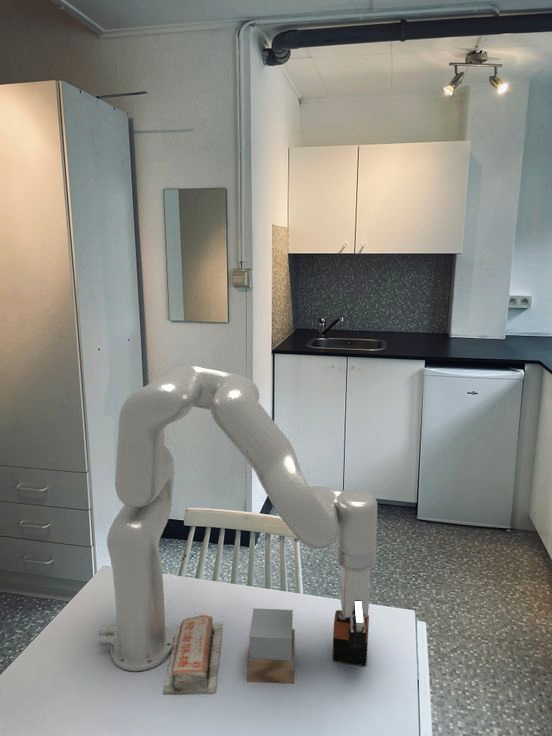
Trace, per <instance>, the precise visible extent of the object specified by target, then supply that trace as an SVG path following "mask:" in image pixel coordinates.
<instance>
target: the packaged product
mask: <svg viewBox="0 0 552 736" xmlns="http://www.w3.org/2000/svg"><path fill="white" fill-rule="evenodd" d="M222 639H223V622H213V616H212V615H211V616H210V615H207V614H201V615H197V616H194V617H187V618H186V619H183V620H182V621H181V623H180V624H177V627H176V630H175V636H174V639H173V641H174V644H173V648H172V652H171V653H170V658H169V664H168V667H167V668H168V669H167V673H166V678H165V681H164V682H165V683H164V687H163V692H162V693H163V695H188V694H189V695H190V694H191V695H193V694H194V695H195V694H196V695H197V694H198V695H200V694H201V695H202V694H206V695H207V694H215V693H216V689H217V685H218V673H219V669H220V668H219V666H220V659H221V649H222Z"/></svg>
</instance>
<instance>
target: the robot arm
mask: <svg viewBox="0 0 552 736" xmlns="http://www.w3.org/2000/svg"><path fill="white" fill-rule="evenodd" d="M259 399H260V391H259V388H258V386H257V384H255V382H254V381H253V380H251V379H250V378H248V376H244V375H241V374H237V373H233V372H228V371H223V370H218V369H217V370H216V369H210V368H208V367H203V366H197V365H192V364H191V365H190V364H176V365H173V366H171V367H169V368H168V369H166V370H165V371H164V372H163V373H161V375H160V376H158V377H157V378H156V379H155V380H154V381H153V382H150V383H149V384H146V385H145V386H142V387H141V388H138V389H137V390H136V391H134V392H133V393H131V394H130V395H129V396H128V397H127V398H126V400H125V401H124V402H123V404H122V407H121V408H120V410H119V411H120V412H119V417H118V431H117V432H118V433H117V434H118V436H117V446H116V459H115V461H116V463H115V475H114V476H115V477H114V487H115V493H116V496H117V498H118V499H119V501H120V502H121V503H122V504H123V507H122V508H121V509H120V511H118V514H117V515H116V517H114V520H113V522H112V523H111V525H110V528H109V530H108V533H107V537H106V546H107V552H108V555H109V559H110V562H111V563H110V564H111V568H112V569H111V571H112V578H113V588H114V599H115V601H114V602H115V614H116V624H115V625H114V626H113V625H112V626H111V625H100V626H99V629H98V636H101V637H100V641H99V642H100V644H111V647H110V656H111V659H112V661H113V663H114V664H115V665H116V666H117V667H119V668H120V669H122V670H126V671H130V672H139V671H147V670H149V669H152V668H155V667H157V666H158V665H160V664H162V663H163V662H165V661H166V660H167V658H169V656H171V653H172V648H173V644H174V636H173V633H172V632H171V630H170V629H169V627H166V617H165V615H166V613H165V596H164V594H165V593H164V578H163V576H164V575H163V564H162V559H161V555H160V552H159V551H160V550H159V545H160V540H161V537H162V535H163V532H164V529H165V528H166V526H167V523H168V521H169V518H170V516H171V512H172V506H173V505H172V504H173V491H174V480H175V479H174V477H175V460H174V457H173V454H172V453H171V451H170V449H169V448H168V447H167V446H166V445H165V428H166V427H168V425H170V424H172V423H175V422H178V421H179V420H181V419H183V418H185V417H186V416H187V415H188V414H190V412H191V410H192V409H193V408H198V409H203V410H208V411H210V414H211V416H212V419H213V421H214V422H215V424H216V425H217V426H218V428H219V429H220V430H221V431H222V433H223V434H224V435H225V436H226V438H227V439H228V440H229V441H230V442H231V443H232V444H233V446H234V448H236V449H237V451H238V452H239V453H240V455H242V457H243V458H244V459H245V461H246V463H248V465H249V466H250V467H251V468H252V469H253V471H254V472H255V474H256V477H257V479H258V481H259V483H260V485H261V487H262V488H263V490H264V492H265V494H266V495H267V497H268V499H269V501H270V502H271V505H272V506H273V508H274V509H275V511H276V513H277V515H279V517H280V519H281V520H282V521H283V522H284V523H285V525H286V526H287V527H288V529H290V531H291V532H292V533H293V534H294V535H295V537H296V538H297V539H298V540H299V541H300V542H301V543H302V544H304V545H305V546H307V547H308V548H312V549H318V550H319V549H325V548H328V547H329V546H331V545H332V544H333V543H334V542H335V541H336V562H337V564H338V565H339V566H340V578H339V579H340V580H339V597H340V605H341V611H342V614H343V616H344V617H345V618H346V617H350V628H349V648H365V647H366V629H365V618H366V617H367V616H368V615H369V605H370V581H371V580H370V579H371V578H370V573H371V572H370V570H371V569H373V568H374V567H375V565H376V558H377V557H376V556H377V529H378V525H377V524H378V502H377V499H376V498H375V496H374V495H373V494H372V493H371V492H368V491H366V490H364V489H350V490H341V489H335V488H330V487H327V486H321V485H320V486H317V485H314V486H310V485H309V484H308V482H307V480H306V479H305V478H306V477H304V475H303V472H302V470H301V467H300V464H299V462H298V458H297V455H296V452H295V450H294V448H293V445H292V443H291V441H290V440H289V438H288V437H287V436H286V435H285V434H284V432H283V431H282V430H281V428H280V427H279V426H278V425H277V423H275V421H274V420H273V418H272V417H271V416H270V415H269V413H268V412H267V411H266V410H265V408H264V407H263V406H262V405H261V403H260V402H259V401H260V400H259ZM352 612H355V614H352ZM353 618H356V624H354V625H353Z"/></svg>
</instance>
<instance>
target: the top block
mask: <svg viewBox="0 0 552 736" xmlns="http://www.w3.org/2000/svg"><path fill="white" fill-rule="evenodd" d="M293 615H294V614H293V609H275V608H274V609H273V608H253V609H252V615H251V620H250V621H251V622H250V623H251V624H250V629H249V635H248V640H249V643H248V649H249V659H261V660H282V661H291V655H292V629H293V621H294V620H293V619H294V618H293Z"/></svg>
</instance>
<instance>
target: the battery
mask: <svg viewBox="0 0 552 736" xmlns="http://www.w3.org/2000/svg"><path fill="white" fill-rule="evenodd" d="M352 614H355V612H352ZM369 623H370V615H369V614H368V616H367V617H366V618H365V629H366V647H365V648H349V628H350V617H346V618H345V617H344V616H343V614H342V609H341V610H339V609H336V611H335V613H334V618H333V633H332V634H333V636H332V637H333V638H332V639H333V640H332V642H333V643H332V644H333V645H332V661H334V662H339V663H345V664H350V665H357V666H363V667H364V666H367V664H368V663H367V661H368V643H369V626H370V624H369ZM354 624H356V618H353V625H354Z"/></svg>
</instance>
